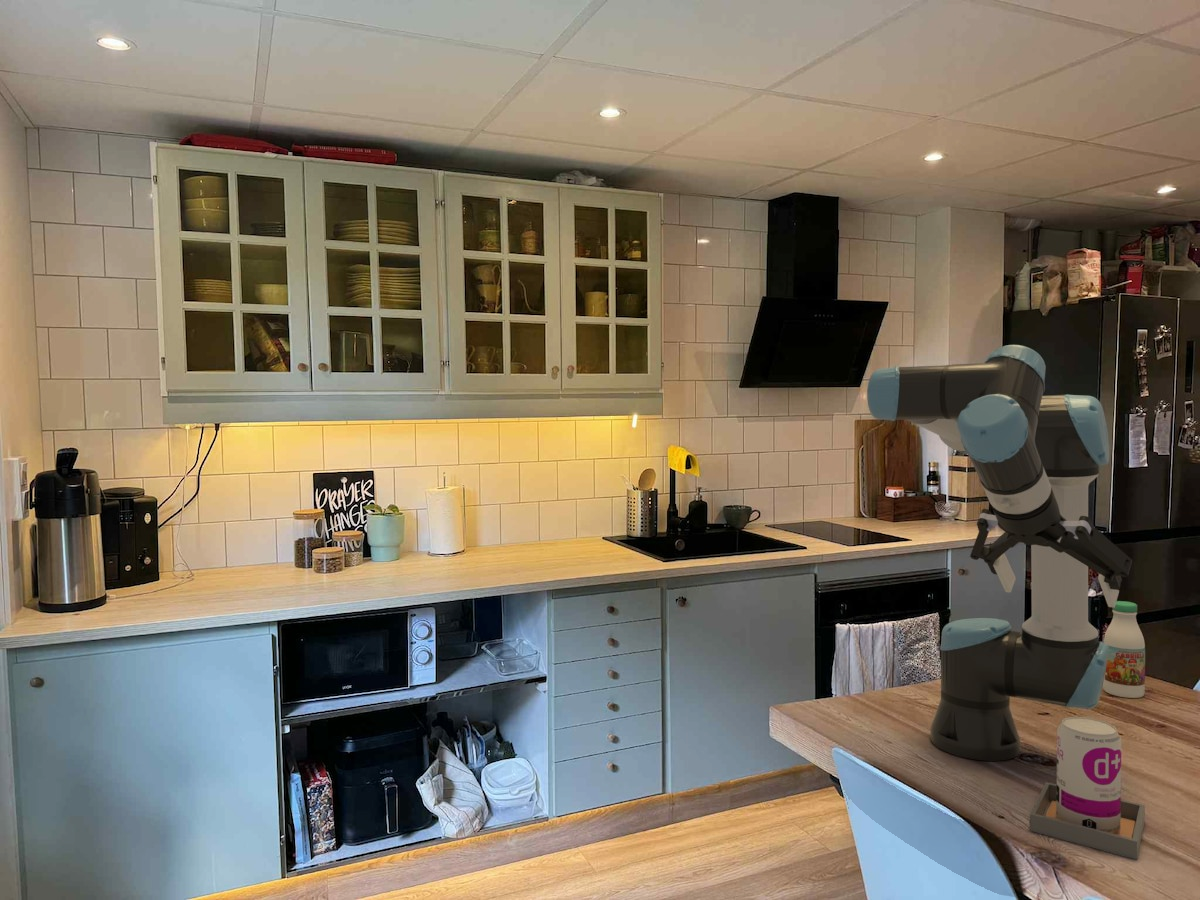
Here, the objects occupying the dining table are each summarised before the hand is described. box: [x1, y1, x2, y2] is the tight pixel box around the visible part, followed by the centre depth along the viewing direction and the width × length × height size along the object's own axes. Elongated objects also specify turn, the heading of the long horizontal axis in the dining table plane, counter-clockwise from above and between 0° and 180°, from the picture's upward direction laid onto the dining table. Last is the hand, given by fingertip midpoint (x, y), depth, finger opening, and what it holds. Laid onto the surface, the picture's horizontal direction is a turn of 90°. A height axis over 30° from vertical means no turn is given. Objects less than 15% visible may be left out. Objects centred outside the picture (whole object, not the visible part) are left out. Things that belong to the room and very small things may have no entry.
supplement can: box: [1056, 716, 1122, 834], centre depth 120 cm, size 8×8×15 cm
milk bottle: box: [1102, 600, 1146, 699], centre depth 178 cm, size 8×8×20 cm
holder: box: [1029, 781, 1146, 860], centre depth 121 cm, size 13×13×2 cm
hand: (1060, 592), depth 117 cm, fingers open, 13 cm apart
